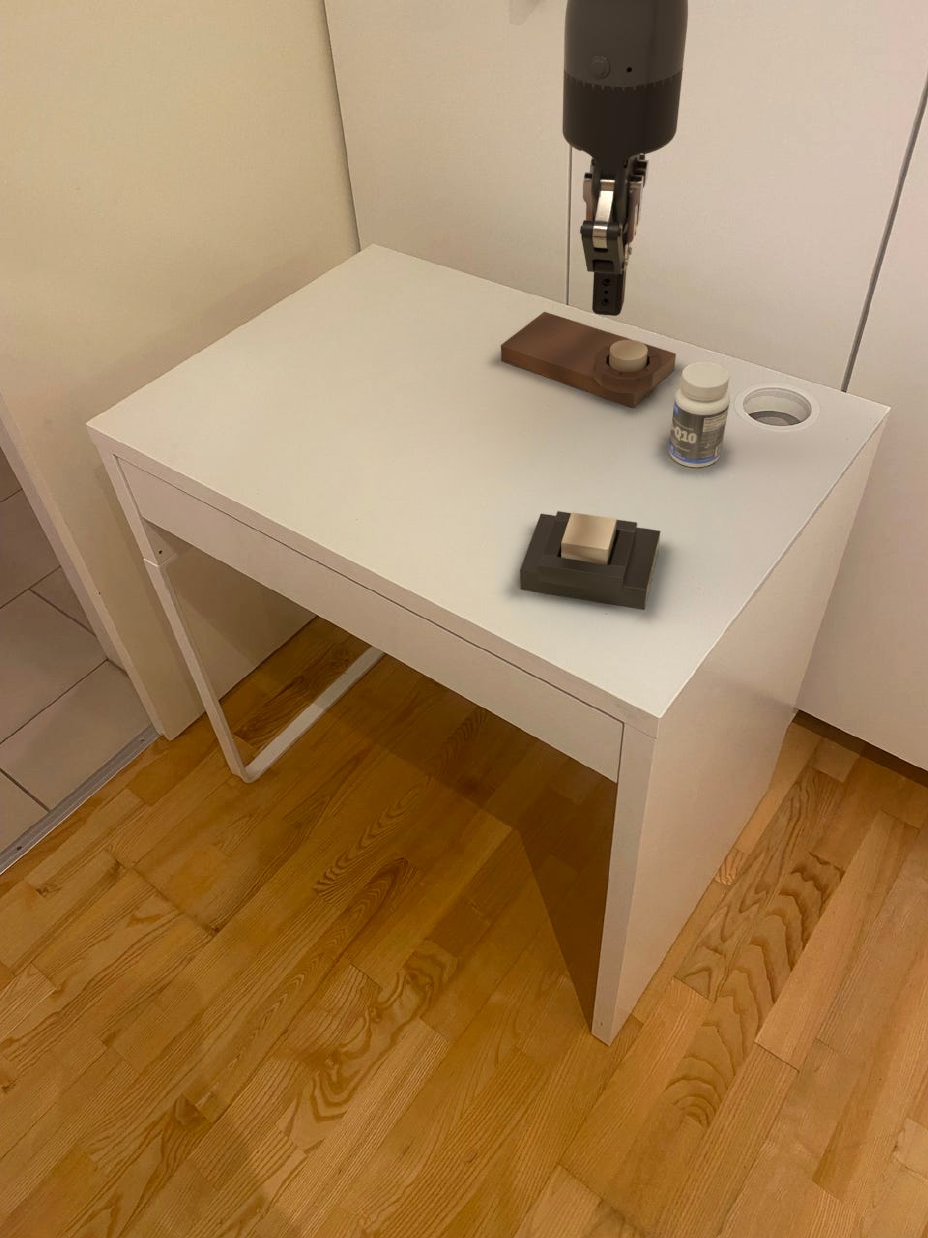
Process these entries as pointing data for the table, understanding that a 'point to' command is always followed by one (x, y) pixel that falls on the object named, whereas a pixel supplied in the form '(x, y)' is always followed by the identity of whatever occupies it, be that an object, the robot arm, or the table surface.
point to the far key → (628, 356)
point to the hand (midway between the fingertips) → (607, 309)
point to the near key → (588, 538)
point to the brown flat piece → (583, 359)
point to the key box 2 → (591, 565)
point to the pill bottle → (699, 415)
